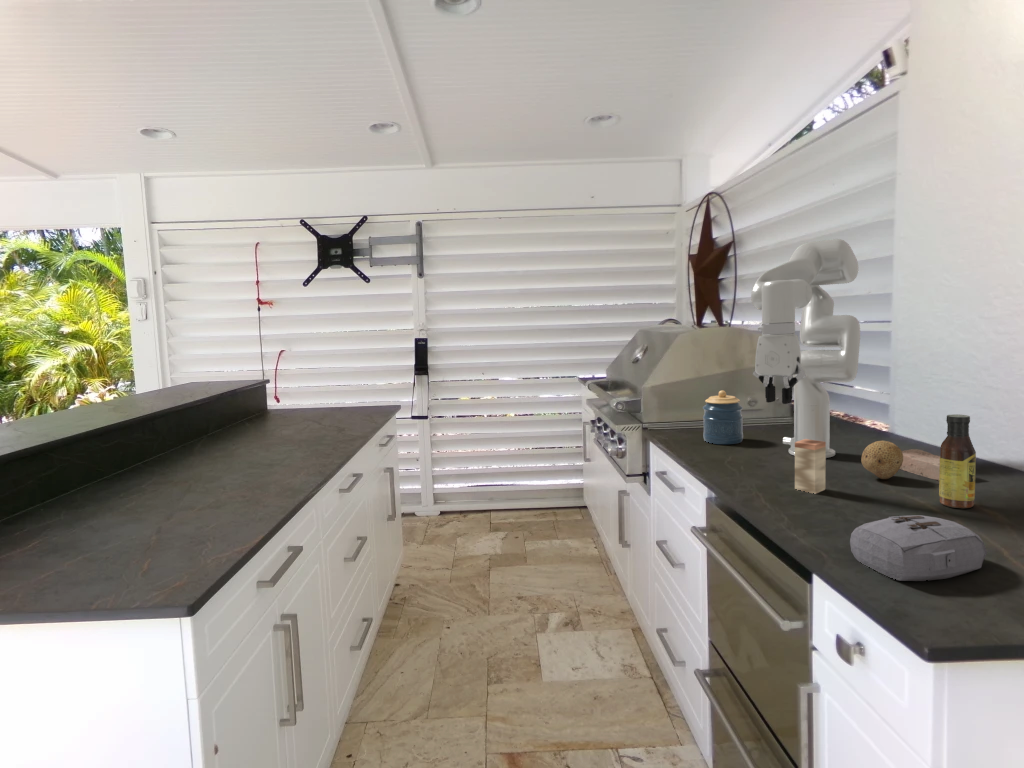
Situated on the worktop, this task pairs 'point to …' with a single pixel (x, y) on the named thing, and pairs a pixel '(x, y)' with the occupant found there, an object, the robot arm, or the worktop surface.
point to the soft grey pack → (917, 548)
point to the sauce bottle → (957, 464)
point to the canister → (723, 419)
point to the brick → (921, 463)
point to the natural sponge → (882, 459)
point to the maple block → (810, 465)
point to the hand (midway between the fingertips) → (778, 401)
